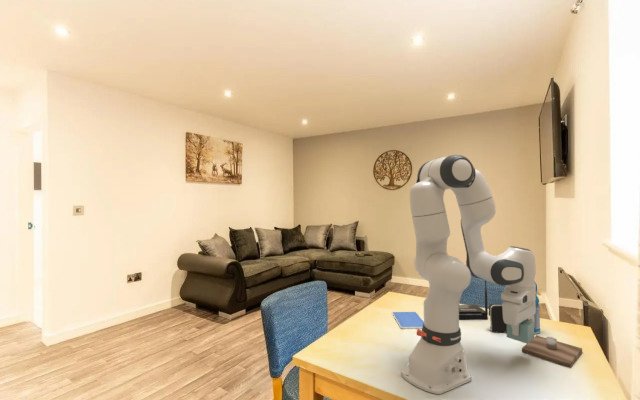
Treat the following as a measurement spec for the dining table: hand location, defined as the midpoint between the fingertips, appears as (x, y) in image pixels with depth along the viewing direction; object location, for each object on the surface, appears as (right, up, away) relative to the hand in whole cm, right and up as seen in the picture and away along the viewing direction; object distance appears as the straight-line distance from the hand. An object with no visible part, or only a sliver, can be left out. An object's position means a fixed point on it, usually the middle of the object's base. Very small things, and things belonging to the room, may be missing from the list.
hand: (520, 331), depth 105 cm
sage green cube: (0, -2, 0) cm, 2 cm away
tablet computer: (-28, -12, +37) cm, 48 cm away
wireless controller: (+2, -11, +40) cm, 42 cm away
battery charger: (+6, -10, +23) cm, 26 cm away
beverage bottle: (+19, -10, +23) cm, 31 cm away
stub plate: (+14, -9, +4) cm, 18 cm away
